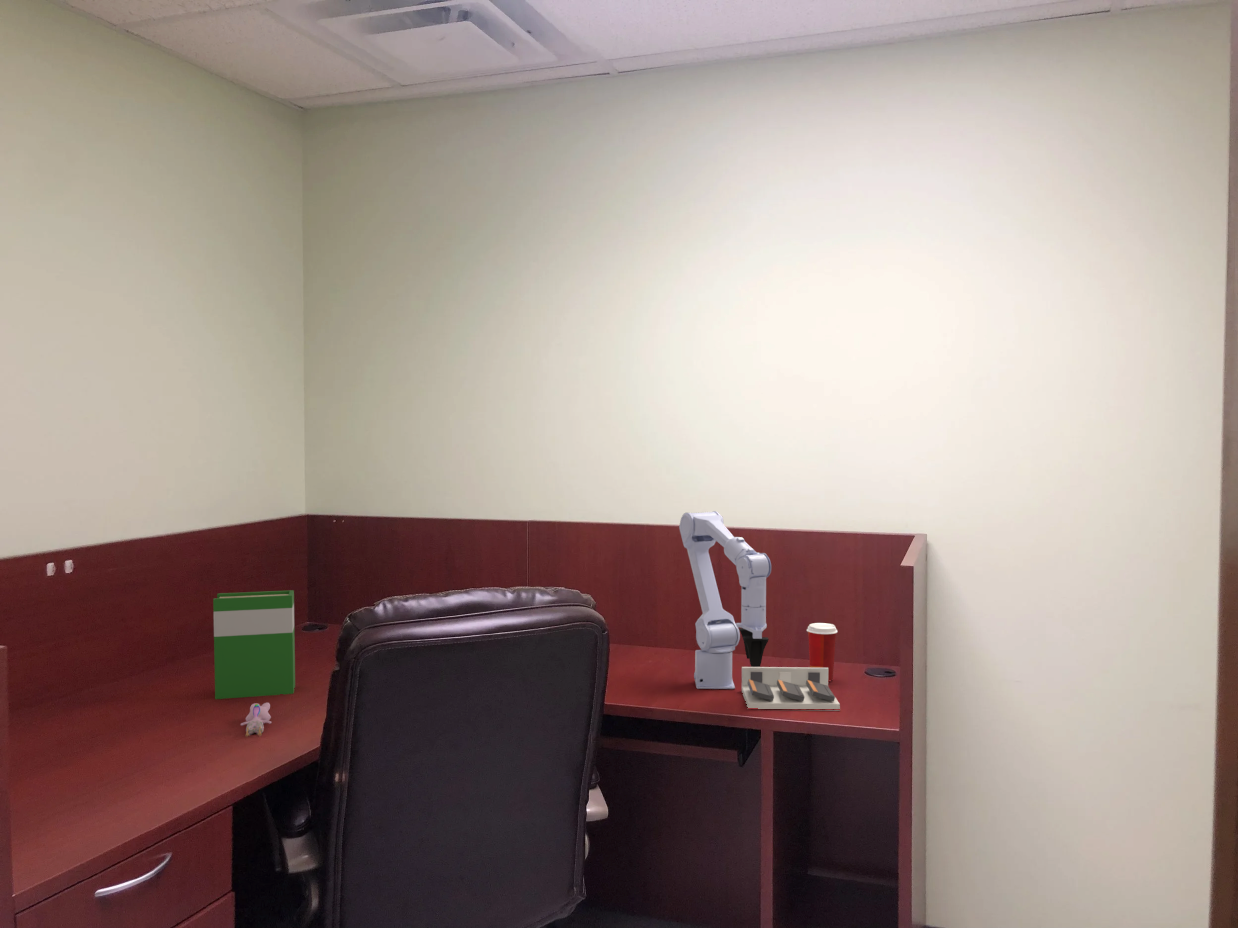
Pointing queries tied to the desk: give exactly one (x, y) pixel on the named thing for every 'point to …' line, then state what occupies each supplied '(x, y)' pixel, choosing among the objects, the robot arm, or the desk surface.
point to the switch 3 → (820, 690)
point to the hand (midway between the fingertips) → (753, 662)
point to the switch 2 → (790, 690)
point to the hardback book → (254, 644)
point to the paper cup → (822, 646)
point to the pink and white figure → (257, 718)
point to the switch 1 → (760, 690)
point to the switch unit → (791, 676)
